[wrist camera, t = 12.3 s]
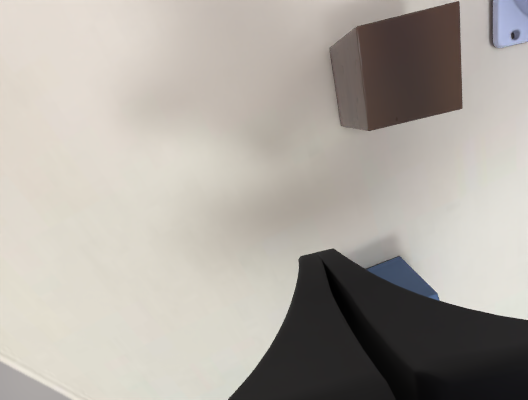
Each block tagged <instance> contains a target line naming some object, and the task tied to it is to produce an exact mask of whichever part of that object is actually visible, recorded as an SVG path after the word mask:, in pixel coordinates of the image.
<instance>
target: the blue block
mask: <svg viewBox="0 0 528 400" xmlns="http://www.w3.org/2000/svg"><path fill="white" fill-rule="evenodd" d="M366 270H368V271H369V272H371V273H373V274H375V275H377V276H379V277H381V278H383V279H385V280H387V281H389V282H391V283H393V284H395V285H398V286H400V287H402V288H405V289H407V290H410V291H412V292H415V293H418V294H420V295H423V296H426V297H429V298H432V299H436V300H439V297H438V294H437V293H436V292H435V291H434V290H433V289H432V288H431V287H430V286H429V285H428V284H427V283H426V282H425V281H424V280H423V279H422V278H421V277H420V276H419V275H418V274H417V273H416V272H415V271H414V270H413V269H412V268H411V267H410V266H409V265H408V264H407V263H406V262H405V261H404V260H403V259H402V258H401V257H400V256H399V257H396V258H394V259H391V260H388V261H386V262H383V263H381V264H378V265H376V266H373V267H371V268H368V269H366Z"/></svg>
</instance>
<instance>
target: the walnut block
mask: <svg viewBox="0 0 528 400" xmlns="http://www.w3.org/2000/svg"><path fill="white" fill-rule="evenodd" d="M330 54H331V61H332V68H333V74H334V81H335V88H336V94H337V101H338V108H339V114H340V121H341V126H344V127H350V128H356V129H361V130H367V131H371V130H375V129H380V128H384V127H388V126H392V125H396V124H401V123H405V122H409V121H413V120H417V119H421V118H426V117H430V116H434V115H438V114H442V113H447V112H451V111H455V110H459V109H462V77H461V41H460V6H459V1H457V2H453V3H449V4H445V5H441V6H437V7H433V8H429V9H425V10H421V11H417V12H413V13H409V14H405V15H401V16H397V17H393V18H389V19H385V20H381V21H377V22H373V23H369V24H365V25H361V26H357V27H355V28H354V29H353V30H352V31H350V32H349V33H348V34H347V35H345V36H344V37H343V38H342V39H340V40H339V41H338V42H337V43H335V44H334V45H333V46H331V47H330Z"/></svg>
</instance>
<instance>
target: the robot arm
mask: <svg viewBox="0 0 528 400" xmlns="http://www.w3.org/2000/svg"><path fill="white" fill-rule="evenodd" d="M512 32H513V33H514V38H513V40H512V39H511V33H512ZM524 42H528V0H493V43H494V45H495V47H497V48H503V47H507V46H511V45H515V44H520V43H524ZM228 400H528V320H523V319H517V318H511V317H505V316H499V315H494V314H489V313H485V312H481V311H476V310H472V309H467V308H463V307H460V306H456V305H452V304H449V303H445V302H442V301H439V300H436V299H432V298H429V297H426V296H423V295H420V294H418V293H415V292H412V291H410V290H407V289H405V288H402V287H400V286H398V285H395V284H393V283H391V282H389V281H387V280H385V279H383V278H381V277H379V276H377V275H375V274H373V273H371V272H369V271H368V270H366V269H364V268H363V267H361V266H359V265H358V264H356V263H354V262H353V261H351V260H350V259H348V258H347V257H345V256H344V255H342V254H341V253H339V252H338V251H336V250H335V249H329V250H325V251H320V252H316V253H312V254H308V255H304V256H301V257H300V258H299V272H298V279H297V283H296V288H295V292H294V295H293V298H292V301H291V305H290V307H289V310H288V313H287V315H286V317H285V319H284V322H283V324H282V326H281V328H280V330H279V332H278V334H277V335H276V337H275V339H274V341H273V343H272V344H271V346H270V348H269V349H268V351H267V352H266V353H265V355H264V356H263V358H262V359H261V361H260V362H259V364H258V365H257V366H256V368H255V369H254V371H253V372H252V373H251V374H250V375H249V377H248V378H247V379H246V380H245V381H244V382H243V383H242V385H241V386H240V387H239V388H238V389H237V390H236V391H235V393H234V394H233V395H232V396H231V397H230V398H229V399H228Z"/></svg>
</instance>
